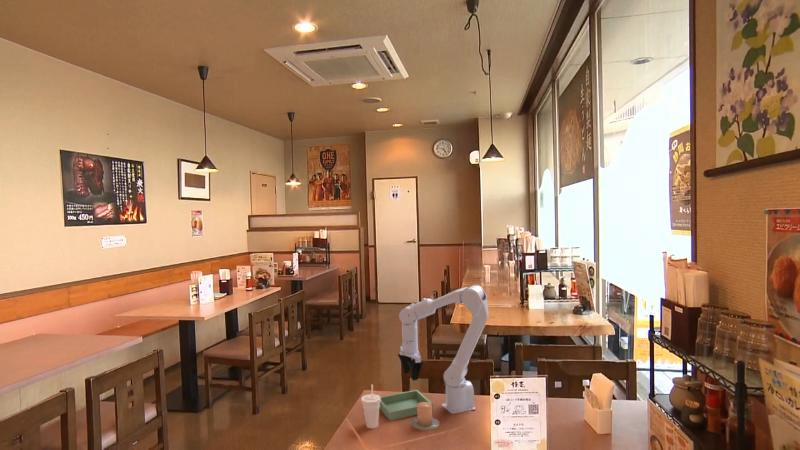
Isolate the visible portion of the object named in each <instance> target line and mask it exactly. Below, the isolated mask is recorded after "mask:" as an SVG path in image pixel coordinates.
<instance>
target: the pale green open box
mask: <svg viewBox="0 0 800 450" xmlns="http://www.w3.org/2000/svg"><path fill="white" fill-rule="evenodd" d="M380 397H381V401H380V407H379V411H381V412H382V413H383V415H384V416H385V417H386V419H388V421H389V422H392V421H395V420H396V421H397V420H400V419H405V418H409V417H413V416H417V404H418V403H420V402H429V403H431V404H432V412H434V404H433V402H432V401H431V400H430V399H428V397H426V396H425V395H424V394H423V393H421V392H420V391H419V390H418V389H414V390H413V389H412V390H409V391H403V392H398V393H394V394H393V393H392V394H388V395H384V396H380Z"/></svg>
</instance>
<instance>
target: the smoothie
mask: <svg viewBox="0 0 800 450" xmlns="http://www.w3.org/2000/svg"><path fill="white" fill-rule="evenodd" d="M370 385H371V393H369V394H365V395H363V396H362V397H361V398H360V400H361V401H360V403H361V404H362V408H363V415H364V420H365V421H364V422H365V426H366V428H367V429H376V428H378V427H379V420H380V419H379V418H380V416H379V415H380V409H379V407H380V401H381V397H382V396H381V395H379V394H376V393H374V385H373V384H370Z"/></svg>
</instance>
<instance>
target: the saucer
mask: <svg viewBox="0 0 800 450" xmlns="http://www.w3.org/2000/svg"><path fill="white" fill-rule="evenodd" d="M411 426H413V428H414V429H417V430H421V431H430V430H434V429H437V428H438V427H439V426H440V421H439V420H438V419H437V418H435V417H432V425H431V426H428V427H422V426H419V425H418V419H417V417H416V418H414V419H412V421H411Z"/></svg>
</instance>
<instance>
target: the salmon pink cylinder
mask: <svg viewBox="0 0 800 450" xmlns="http://www.w3.org/2000/svg"><path fill="white" fill-rule="evenodd" d="M416 416H417V417H416V418H417V419H418V425H419V426H422V427H428V426H431V425H432V418H433V411H432V404H431V403H429V402H420V403H418V404H417V415H416Z"/></svg>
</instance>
